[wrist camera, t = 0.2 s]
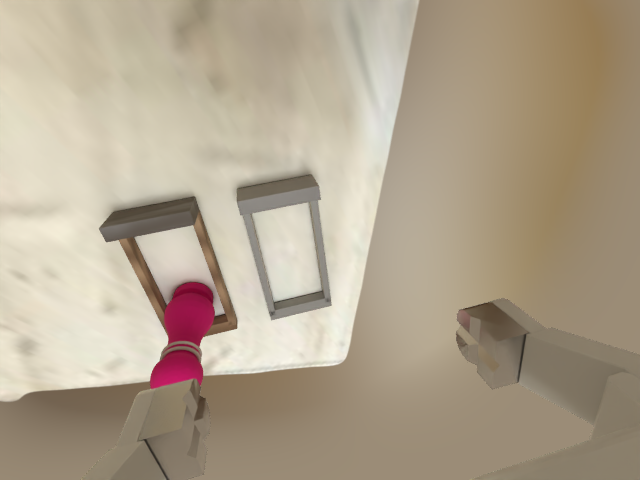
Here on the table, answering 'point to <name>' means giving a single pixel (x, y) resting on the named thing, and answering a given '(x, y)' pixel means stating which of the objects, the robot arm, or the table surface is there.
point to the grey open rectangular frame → (309, 192)
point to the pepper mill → (184, 335)
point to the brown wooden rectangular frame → (163, 219)
